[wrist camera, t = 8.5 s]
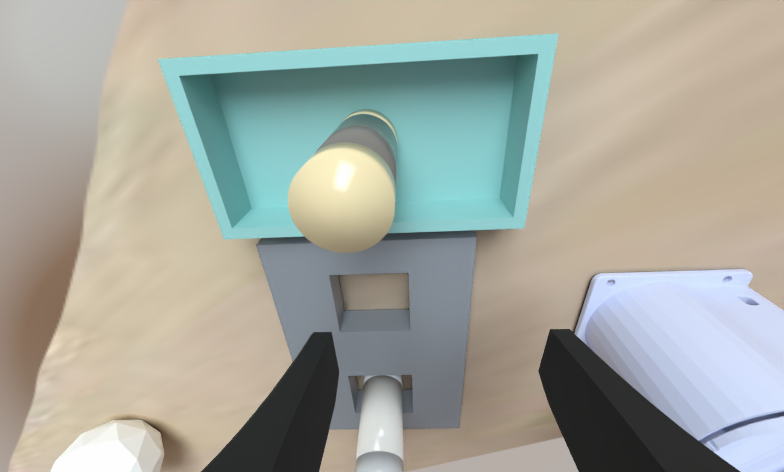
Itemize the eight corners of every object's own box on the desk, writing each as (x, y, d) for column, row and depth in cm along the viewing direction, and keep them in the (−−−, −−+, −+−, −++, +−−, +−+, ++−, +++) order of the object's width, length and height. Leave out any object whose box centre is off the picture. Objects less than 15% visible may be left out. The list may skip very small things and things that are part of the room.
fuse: (401, 359, 25) (403, 477, 18) (402, 383, 26) (404, 501, 19) (363, 359, 25) (350, 478, 18) (366, 384, 26) (355, 502, 19)
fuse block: (469, 220, 19) (476, 237, 17) (455, 404, 27) (459, 428, 26) (269, 227, 19) (256, 245, 17) (319, 406, 28) (314, 429, 26)
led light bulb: (396, 107, 15) (392, 151, 8) (399, 168, 16) (397, 251, 10) (333, 110, 15) (275, 158, 8) (342, 171, 17) (299, 254, 10)
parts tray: (528, 37, 14) (558, 33, 11) (506, 203, 18) (524, 228, 15) (200, 58, 15) (157, 59, 12) (248, 213, 19) (224, 239, 16)
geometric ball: (145, 405, 33) (42, 475, 28) (131, 392, 27) (-3, 477, 22) (185, 467, 32) (85, 552, 27) (179, 466, 26) (50, 575, 21)
